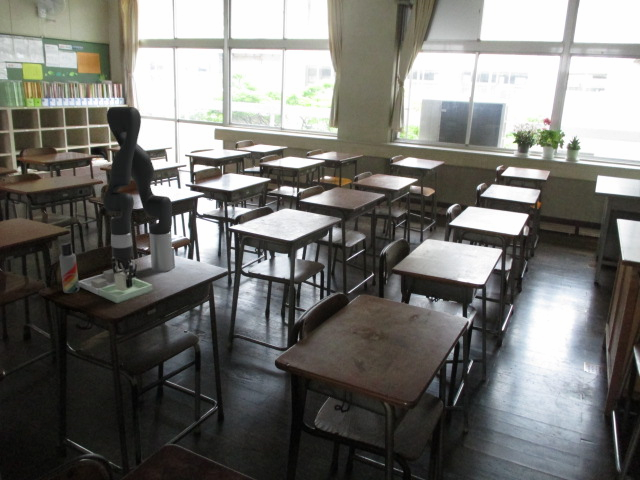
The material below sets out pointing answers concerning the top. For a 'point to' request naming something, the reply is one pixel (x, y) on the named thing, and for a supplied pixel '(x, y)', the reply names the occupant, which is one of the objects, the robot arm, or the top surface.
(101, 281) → the pale grey block
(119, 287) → the beige block
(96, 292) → the grey bin
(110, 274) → the grey cubic sharp-edged block
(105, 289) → the green bin
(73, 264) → the lotion bottle
